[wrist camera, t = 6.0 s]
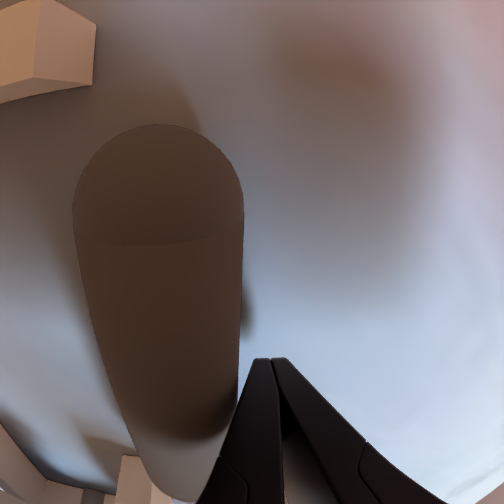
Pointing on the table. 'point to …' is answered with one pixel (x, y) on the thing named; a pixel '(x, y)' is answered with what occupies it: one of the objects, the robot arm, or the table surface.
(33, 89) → the long open tray
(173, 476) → the grey capsule bar
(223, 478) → the robot arm
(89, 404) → the table surface
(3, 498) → the cover
